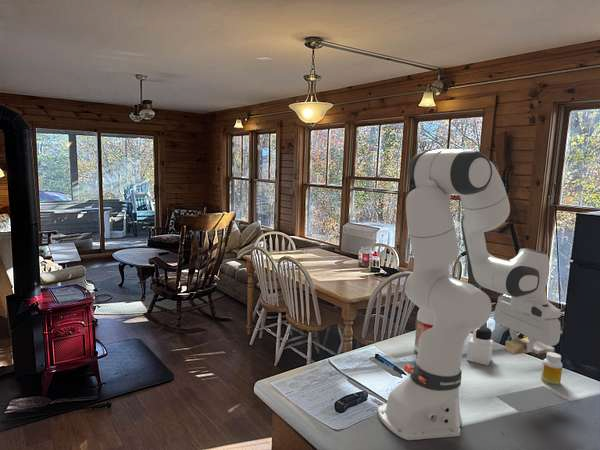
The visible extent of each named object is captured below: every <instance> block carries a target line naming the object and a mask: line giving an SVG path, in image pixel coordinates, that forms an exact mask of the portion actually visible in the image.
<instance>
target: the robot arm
mask: <svg viewBox="0 0 600 450" xmlns="http://www.w3.org/2000/svg"><path fill="white" fill-rule="evenodd" d="M408 181H409V183H408V185H409V187H410V189H411V191H410V192H408V194H407V196H406V198H405V216H406V224H407V230H408V235H409V239H410V246H411V251H412V255H413V270H412V272H411V273H409V275H408V277H406V280H405V283H404V292H405V296H406V297H407V298H408V300H410V301H411V302H412V303H413V304H414V305H415V306H417V307H418V308H419V309H420V308H421V309H423V310H425V311H427V312H429V313H431V314H433V315H434V317H435V321H434V325H433V327H432V328H430V329H428V330H426V331H424V332H423V333H422V334H421V335H420V337H419V346H418V352H417V360H416V361H415V363H414V365H413V366H411V365H410V364H408V363H407V364H404V366H403V371H404V372H405V373H407V374H408V375H409V377H407V378H406V379H405V380H404V381H402V382H401V383H400V384H398V385H397V386H396V387H395V388H394V389H393V390H391V391H390V393H389V395H388V398H387V401H386V403H385V404H382V405H379V406H378V407H377V415H378V417H379V420H380V421H381V422H382V423H383V424H384V426H385V427H387V428H388V429H389V430H390V431H391V432H392V433H393V434H395V435H396V436H398V437H399V438H402V439H404V440H406V441H414V440H416V441H417V440H427V439H439V438H451V437H460V436H461V428H460V427H461V425H462V421H463V420H462V416H461V411H460V410H461V409H460V389H459V388H460V386H461V384H462V369H461V365H462V358H463V351H464V346H465V342H466V340H467V339H468V337H469V335H470V334H471V333H473V330H475V329H478V328H480V327H481V326H484V325H485V324H487V322H488V321H489V319H490V317H491V314H492V309H493V308H492V300H491V298H490V297H489V295H488V294H487V293H486V292H484V291H483V290H481V289H480V288H482V289H488V290H490V291H493V292H496V293H499V294H500V295H499V296H498V297H497V303H496V305H495V308H494V313H493V320H494V322H495V323H497V324H500V325H501V326H503V327H505V328H508V331H509V335H510V337H511V340H517V339H519V337H518V334H519V333H520V334H521V335H523V336H525V337H528V338H527V339H528V340H529V343H528V344H524V350H526V351H528V352H529V353H531V352H530V351H532V348H533V345H534V344H535V343H536V342H537V341H538V342H541V343H543V344H545V345H547V346H551V347H553V346H556V345H557V344H559V342H560V339H561V338H560V337H561V322H560V320H559V318H561V316H562V311H561V310H560V309H559V308H558V307H556V306H555V305H553V304H552V303H551V302H550V301H548V300H547V299H546V298H547V297H546V296H547V293H546V286H547V284H548V281H549V273H550V259H549V256H548V254H547V253H545V252H544V251H541V250H537V249H536V250H534V249H531V248H525V247H522V248H520V249H519V250H518V253H517V255H515V257H513V258H511V259H509V260H507V259H504V258H499V257H496V256H495V255H492V254H491V253H489V251H488V248H487V244H486V243H487V242H486V236H485V233H487V232H490V231H494V230H495V229H497V228H498V227H500V226H502V225H503V224H504V223H505V222H506V220H507V219H508V217H509V215H510V213H511V205H510V200H509V197H508V194H507V190H506V188H505V184H504V182H503V180H502V178H501V175H500V174H499V172H498V169H497V168H496V166H495V164H494V163H493V162H492V161H491V160H490V159H489V158H488V156H487V155H486V154H485V153H484V152H481V151H478V150H476V149H457V148H455V149H454V148H440V149H439V148H438V149H426V150H423V151H421V152H418V153H416V154H415V155H414V156H413V157H412V159H411V160H410V162H409V166H408ZM452 195H459V198H460V201H461V204H462V208H463V212H464V214H463V215H462V217H461V222H460V223H461V224H460V227H461V234H462V235H461V236H462V240H463V244H464V249H465V255H466V263H467V264H466V271H467V272H466V273H467V277H468V280H469V282H470V283H468V282H466V281H463V280H460V279H457V278H455V277H453V275H451V273H450V265H452V264H453V263H454V262H456V260H457V259H458V257H459V254H460V248H459V244H458V243H459V242H458V237H457V232H456V227H455V222H454V218H453V214H452V210H451V206H450V204H451V199H452ZM478 287H479V288H478ZM517 333H518V334H517Z"/></svg>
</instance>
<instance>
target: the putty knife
mask: <svg viewBox="0 0 600 450" xmlns="http://www.w3.org/2000/svg"><path fill="white" fill-rule="evenodd" d="M528 343H529V340H528V338H527V337H525V338H524V337H523V338H518V339H517V340H512V339H510V340H505V344H504V351H505V352H507V353H509V354H511V355H513V356H515V355H521V354H529V353H535V354H536V355H541V354H547V352H553V353H554V352H555V349H556V348H555V347H553V346H547V345H545V344H543V343H541V342H538V341H537V342H536V343H535V344H534V345H533V348H532V351H530V352H528V351H526V350H524V344H528Z"/></svg>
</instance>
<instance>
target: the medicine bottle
mask: <svg viewBox="0 0 600 450" xmlns="http://www.w3.org/2000/svg"><path fill="white" fill-rule="evenodd" d="M492 332H493V331H492V329H491V328H489V327H487V326H484V325H483V326H481V327H480V328H478V329H475V330H473V331H472V336H471V337H470V339H469V340H468V346H467V354H466V355H467V356H466V360H467V361H469V362H473V363H475V364H480V365H483V366H489V365H490V362H491V360H492V356H493V346H494V339H492Z"/></svg>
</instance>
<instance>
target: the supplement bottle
mask: <svg viewBox="0 0 600 450" xmlns="http://www.w3.org/2000/svg"><path fill="white" fill-rule="evenodd" d="M561 360H562V356H561V354H559V353H556V352H554V351H553V352H547V353H546V358H543V360H542V368H541V374H540V381H541V382H543V383H544V384H546V385H550V386H556V387H558V386H560V385H561V381H562V379H561V378H562V371H563V363H562V362H561Z"/></svg>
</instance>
